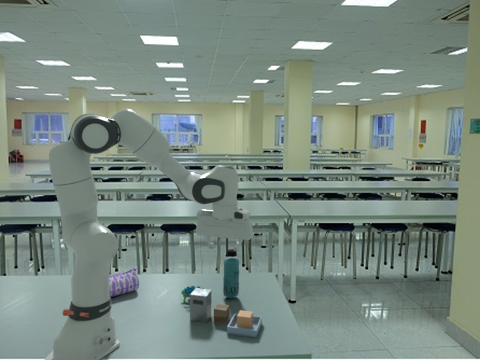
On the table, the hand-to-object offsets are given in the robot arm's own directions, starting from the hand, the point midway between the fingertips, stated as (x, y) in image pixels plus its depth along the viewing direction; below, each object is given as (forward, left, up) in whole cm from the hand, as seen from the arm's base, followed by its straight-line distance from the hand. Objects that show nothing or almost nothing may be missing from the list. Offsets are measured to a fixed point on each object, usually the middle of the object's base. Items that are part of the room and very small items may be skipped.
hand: (223, 249), depth 141 cm
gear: (+10, +14, -26) cm, 31 cm away
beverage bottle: (+17, +1, -26) cm, 31 cm away
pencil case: (+7, +49, -26) cm, 55 cm away
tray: (-6, -10, -25) cm, 28 cm away
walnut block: (-2, 0, -26) cm, 26 cm away
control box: (-3, +7, -25) cm, 27 cm away
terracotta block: (-7, -10, -25) cm, 27 cm away
